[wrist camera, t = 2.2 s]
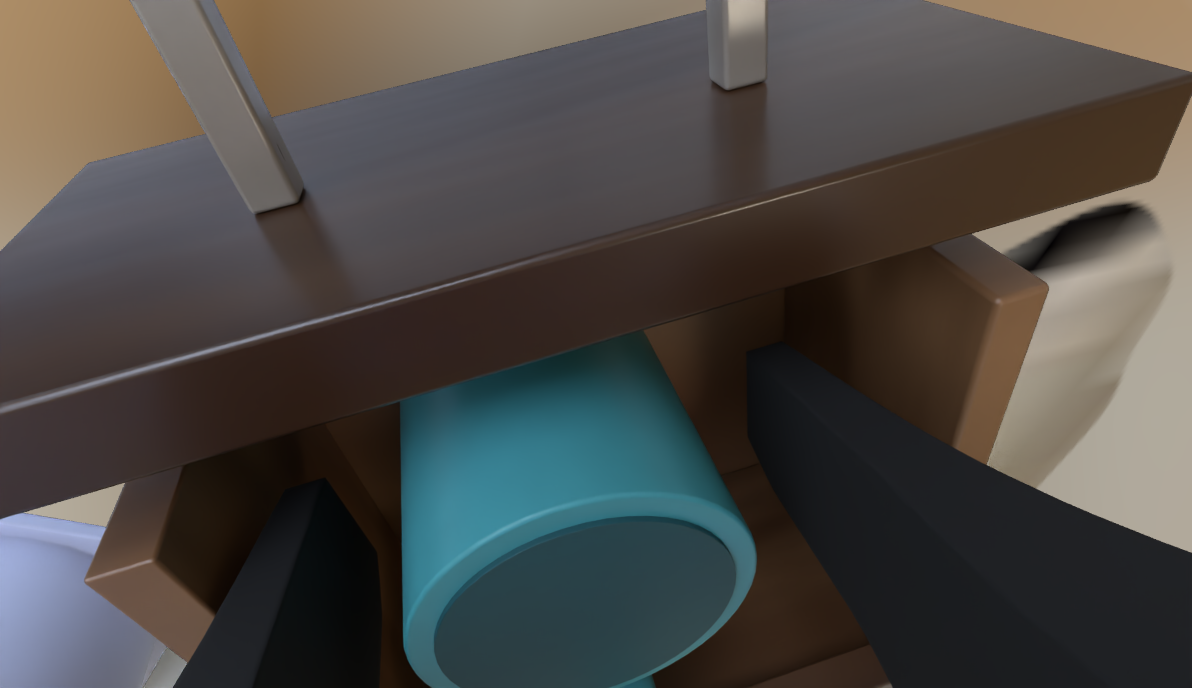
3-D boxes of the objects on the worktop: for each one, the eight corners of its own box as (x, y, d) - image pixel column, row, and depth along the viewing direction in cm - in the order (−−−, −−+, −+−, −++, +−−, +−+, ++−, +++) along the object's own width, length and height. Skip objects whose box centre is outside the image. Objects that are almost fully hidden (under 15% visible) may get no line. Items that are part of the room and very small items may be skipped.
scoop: (360, 263, 11) (306, 977, 4) (604, 197, 12) (944, 740, 5) (491, 538, 17) (565, 1050, 10) (653, 486, 17) (842, 939, 10)
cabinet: (328, 509, 18) (290, 900, 11) (813, 361, 19) (1038, 629, 12) (469, 703, 26) (495, 989, 20) (796, 592, 28) (923, 823, 21)
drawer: (-140, -152, 8) (-1229, -171, 3) (862, -351, 9) (1515, -637, 4) (376, 569, 18) (370, 853, 13) (806, 432, 20) (957, 643, 14)
